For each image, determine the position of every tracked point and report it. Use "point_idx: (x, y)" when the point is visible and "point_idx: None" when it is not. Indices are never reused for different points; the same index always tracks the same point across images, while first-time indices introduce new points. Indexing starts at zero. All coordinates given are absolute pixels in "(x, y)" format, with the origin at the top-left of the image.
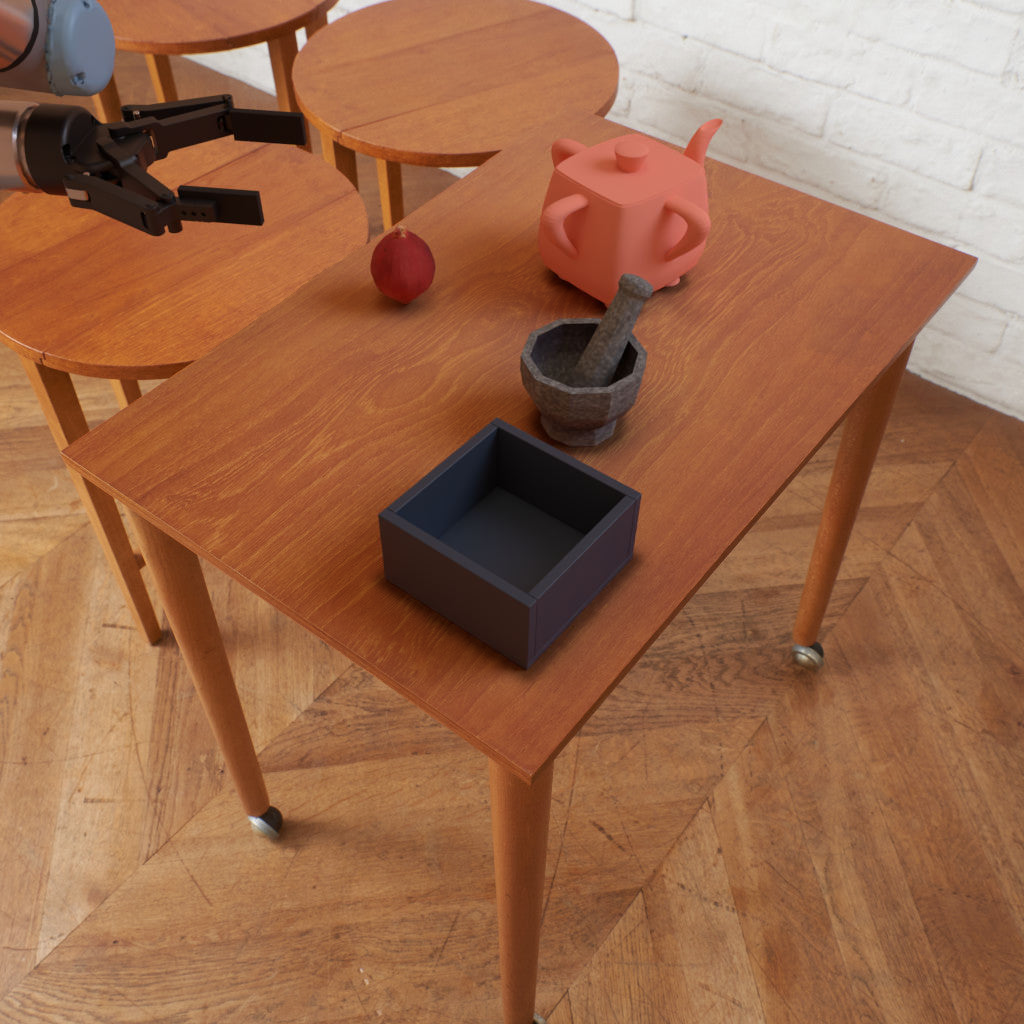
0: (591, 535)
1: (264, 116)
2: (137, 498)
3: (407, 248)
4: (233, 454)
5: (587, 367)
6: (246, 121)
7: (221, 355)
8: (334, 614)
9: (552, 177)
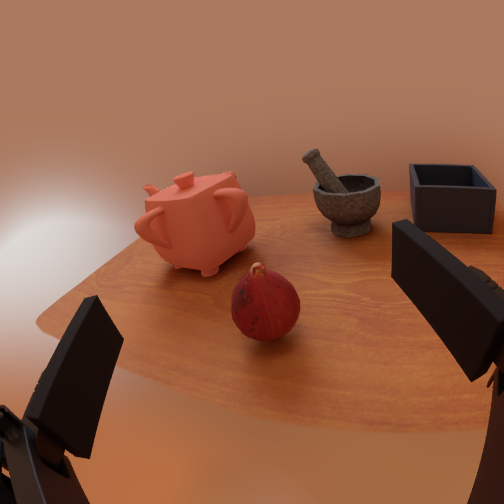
0: (437, 164)
1: (71, 352)
2: None
3: (271, 271)
4: None
5: (346, 191)
6: (66, 398)
7: (444, 428)
8: None
9: (192, 204)
